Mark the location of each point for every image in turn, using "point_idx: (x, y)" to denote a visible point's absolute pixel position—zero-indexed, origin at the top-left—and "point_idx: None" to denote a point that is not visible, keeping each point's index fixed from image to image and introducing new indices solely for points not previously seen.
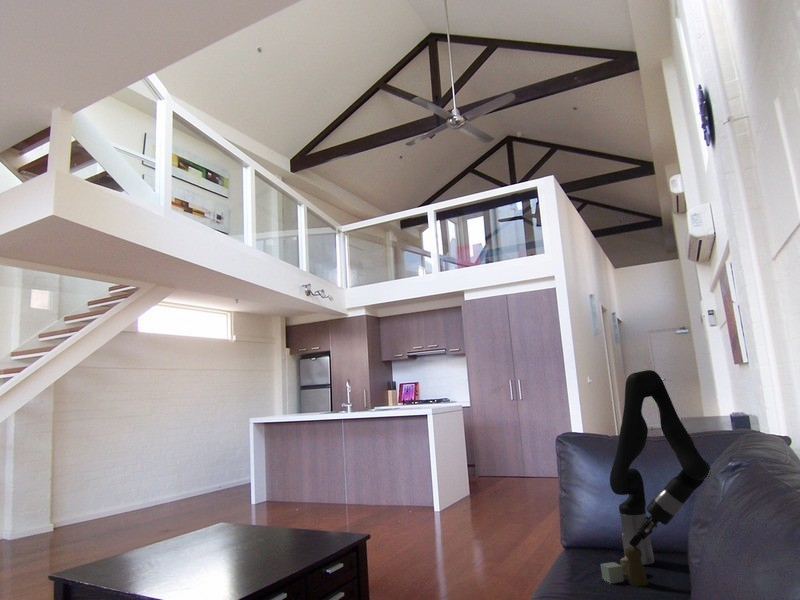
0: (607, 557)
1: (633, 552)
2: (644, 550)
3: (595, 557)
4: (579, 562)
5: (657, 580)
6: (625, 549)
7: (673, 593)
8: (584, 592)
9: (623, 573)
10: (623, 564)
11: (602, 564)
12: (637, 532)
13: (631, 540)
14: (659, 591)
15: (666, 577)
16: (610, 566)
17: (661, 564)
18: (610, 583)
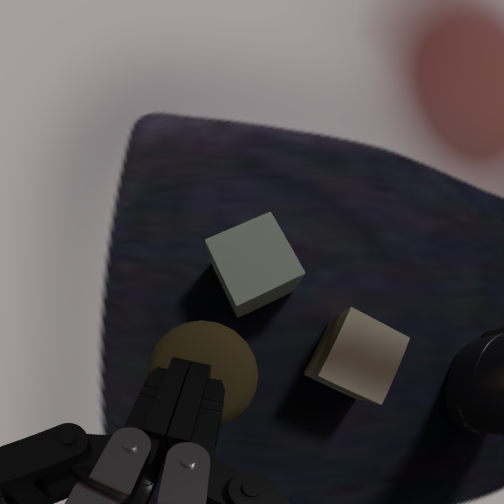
0: (501, 273)
1: (148, 369)
2: (479, 412)
3: (493, 236)
4: (440, 184)
5: (257, 448)
6: (198, 325)
7: None
8: (127, 179)
9: (329, 322)
10: (338, 323)
11: (262, 220)
12: (64, 437)
13: (164, 376)
14: (122, 426)
15: (298, 481)
16: (227, 252)
17: (450, 454)
18: (211, 263)
